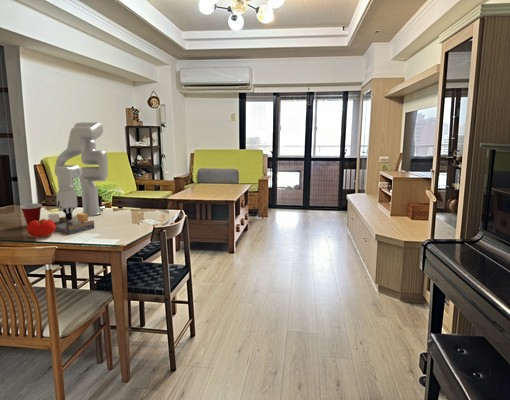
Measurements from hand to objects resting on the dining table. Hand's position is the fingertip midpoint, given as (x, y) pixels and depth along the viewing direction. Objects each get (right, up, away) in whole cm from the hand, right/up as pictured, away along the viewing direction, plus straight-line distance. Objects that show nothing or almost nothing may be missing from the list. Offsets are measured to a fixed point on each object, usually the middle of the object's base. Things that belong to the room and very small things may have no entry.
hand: (69, 219), depth 202 cm
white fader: (-4, -2, -8) cm, 9 cm away
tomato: (-2, -8, -22) cm, 23 cm away
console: (+3, -5, -7) cm, 9 cm away
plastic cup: (-21, -4, +1) cm, 22 cm away
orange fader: (+11, -2, -7) cm, 13 cm away
